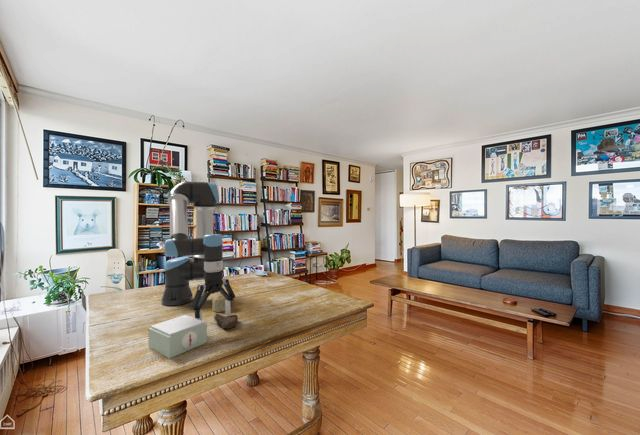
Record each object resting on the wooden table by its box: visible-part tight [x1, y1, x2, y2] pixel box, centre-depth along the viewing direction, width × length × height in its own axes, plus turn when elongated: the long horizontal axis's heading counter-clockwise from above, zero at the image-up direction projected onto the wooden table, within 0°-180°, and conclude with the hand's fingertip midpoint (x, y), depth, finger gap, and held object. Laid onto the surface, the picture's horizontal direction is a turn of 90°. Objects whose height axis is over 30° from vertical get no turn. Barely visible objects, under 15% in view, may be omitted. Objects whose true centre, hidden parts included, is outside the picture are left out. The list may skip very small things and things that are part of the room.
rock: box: [213, 313, 239, 330], centre depth 118 cm, size 11×10×4 cm
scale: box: [148, 314, 208, 359], centre depth 101 cm, size 15×14×8 cm
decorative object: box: [211, 292, 227, 313], centre depth 139 cm, size 9×10×10 cm
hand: (214, 320), depth 117 cm, fingers open, 13 cm apart
